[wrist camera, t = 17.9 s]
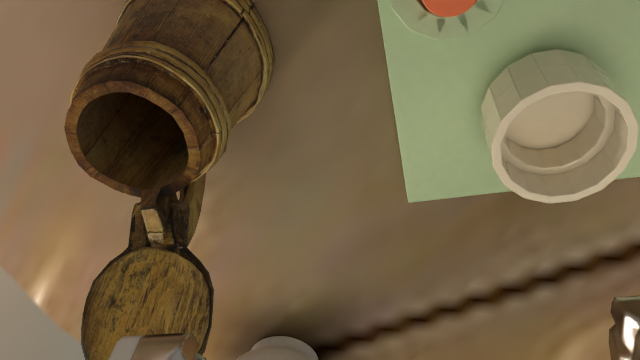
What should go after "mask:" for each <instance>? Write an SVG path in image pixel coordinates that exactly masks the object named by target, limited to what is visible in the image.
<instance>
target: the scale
mask: <svg viewBox="0 0 640 360" xmlns="http://www.w3.org/2000/svg"><path fill="white" fill-rule="evenodd" d="M377 1H378V8H379V14H380V21H381V27H382V34H383V40H384V47H385V53H386V60H387V66H388V73H389V79H390V86H391V93H392V99H393V106H394V112H395V119H396V125H397V132H398V138H399V145H400V151H401V158H402V164H403V171H404V178H405V184H406V191H407V197H408V202H409V203H410V202H419V201H428V200H437V199H445V198H454V197H463V196H472V195H481V194H490V193H499V192H508V191H512V190H511V189H509V188H508V187H506V186H505V185H504V184H503V182H502V181H501V179H500V177H499V176H498V174H497V172H496V171H495V169H494V168H493V165H492V161H491V158H490V154H489V151H488V147H487V143H486V140H485V136H484V133H483V129H482V119H481V106H482V103H483V101H484V98H485V96H486V93H487V90H488V88H489V86H490V84H491V83H492V82H493V81H494V80H495V79H496V78H497V77H498V76H499V75H500V74H501V72H502V71H503V70H504V69H505V68H506V67H508V66H509V65H510V64H512V63H514V62H516V61H518V60H520V59H522V58H524V57H526V56H527V55H529V54H532V53H536V52H543V51H549V50H556V49H559V50H565V51H569V52H574V53H578V54H583V55H584V56H587V57H588V58H589V59H590V60H592V61H593V62H594V63H596V64H597V65H598V66H600V67H601V68H602V69H603V70H604V71H605V73H606V74H607V75H608V77H609V78H610V79H611V81H612V82H613V83H614V84H615V86H616V87H617V88H618V90H619V91H620V92H621V93H622V95H623V96H624V97H625V99H626V100H627V101H628V103H629V104H630V106H631V109H632V111H633V113H634V115H635V118H636V120H637V122H638V126H639V127H638V137H637V148H636V151H635V153H634V154H633V156H632V158H631V159H630V161H629V163H628V165H627V166H626V168H625V170H624V171H623V172H622V173H621V174H620V175H619V176H618V177H617V178H615V179H623V178H632V177H640V0H477V1H476V3H475V4H474V5H473V6H472V7H471V8H470V9H469V10H467V11H466V12H464V13H462V14H460V15H458V16H453V17H443V16H439V15H436V14H434V13H432V12H431V11H430V10H428V9H427V8H426V6H425V5H424V4H423V2H422V0H377Z"/></svg>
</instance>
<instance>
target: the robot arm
mask: <svg viewBox="0 0 640 360" xmlns="http://www.w3.org/2000/svg"><path fill="white" fill-rule="evenodd" d="M611 314H612V317H613V319H614V322H615V325H614V326H613V327H611V328H610V329H609V347H610V355H611V360H640V296H629V297H618V298H614V299H613V301H612V306H611ZM198 345H199V343H198V341H197V340H196V338H195V336H194V334H193V333H172V334H153V335H141V336H124V337H122V338H121V339H120V340H119V341H118V342H117V343H116V345H115V347H114V349H113V351H112V353H111V355H110V358H109V360H206V358H205V357H203V356H202V355H200V354H198V353H197V352H196V351H197V348H198Z"/></svg>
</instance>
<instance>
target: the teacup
mask: <svg viewBox="0 0 640 360" xmlns="http://www.w3.org/2000/svg"><path fill="white" fill-rule="evenodd" d="M236 360H318V357H317V355H316V353H315V351H314V350H313V349H312V348H311V347H310V346H309V345H307V344H306V343H304V342H302V341H300V340H298V339H295V338H292V337H287V336H274V337H268V338H265V339H262V340H260V341H259V342H257V343H256V344H255V345H254V346H253V348H252V350H251V351H248V352H246V353H244V354H243V355H241V356H240V357H238V358H237V359H236Z"/></svg>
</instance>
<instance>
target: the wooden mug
mask: <svg viewBox="0 0 640 360" xmlns="http://www.w3.org/2000/svg"><path fill="white" fill-rule="evenodd" d="M273 66H274V57H273V53H272V48H271V43H270V40H269V36H268V33H267V29H266V27H265V25H264V23H263V22H262V20H261V18H260V16H259V14H258V12H257V10H256V9H255V7H254V6H253V4H252V3H251V1H250V0H127V2H126V4H125V5H124V7H123V9H122V11H121V13H120V16H119V18H118V20H117V24H116V28H115V30H114V31H113V33H112V35H111V37H110V38H109V40H108V42H107V43H106V45H105V47H104V48H103V50H102V51H101V52H99V53H97V54H96V55H95V56H94V57H93V58H92V59H91V60H90V61H89V62H88V63H87V64H86V66H85V67H84V69H83V71H82V73H81V75H80V77H79V79H78V81H77V83H76V85H75V87H74V89H73V91H72V93H71V100H70V107H69V110H68V112H67V116H66V122H65V127H64V128H65V133H66V138H67V141H68V144H69V147H70V150H71V152H72V154H73V156H74V158H75V159H76V161H77V163H78V165H79V166H80V167H81V168H82V169H83V170H84V171H85V172H86V173H87V174H88V175H89V176H90V177H92V178H94V179H96V180H98V181H100V182H102V183H103V184H105V185H107V186H109V187H111V188H113V189H115V190H117V191H120V192H123V193H126V194H129V195H132V196H137V197H141V202H140V203H137V204H135V206H134V209H133V213H132V219H131V228H130V237H129V245H128V248H127V249H126V250H125V251H124V252H123V253H121V254H120V255H119V256H117V257H116V258H114V259H113V260H112V261H110V262H109V263H108V265H107V266H106V267H105V268H104V269H103V270H102V272H101V273H100V274H99V275H98V276H97V277H96V279H95V280H94V281H93V283H92V286H91V288H90V291H89V293H88V296H87V298H86V303H85V307H84V312H83V318H82V326H81V345H82V349H83V353H84V357H85V360H109V358H110V355H111V353H112V351H113V349H114V347H115V345H116V343H117V342H118V341H119V340H120V339H121V338H122V337H124V336H141V335H153V334H172V333H193V334H194V336H195V338H196V340H197V341H198V343H199V345H198V348H197V351H196V352H197V353H198V354H200V355H203V353H204V352H205V348H206V345H207V341H208V337H209V333H210V330H211V324H212V312H213V295H214V289H213V286H212V282H211V279H210V275H209V272H208V271H207V270H206V268H205V267H204V266H203V264H202V263H201V262H200V260H199V259H198V258H197V257H196V256H195V255H194V254H193V253H192V252H191V251H190V250H189V249H188V248H187V246H188V245H189V243H190V241H191V239H192V237H193V235H194V233H195V230H196V227H197V223H198V220H199V216H200V212H201V206H202V200H203V194H204V186H205V177H206V172H207V171H208V170H209V169H210V168H212V167H213V166H214V165H215V164H216V163H217V162H218V160H219V159H220V158H221V156H222V155H223V154H224V152H225V151H226V148H227V144H228V141H229V138H230V135H231V129H232V128H233V126H234V125H235V124H237V123H238V122H240V121H241V120H243V119H244V118H246V117H247V116H249V115H250V114H251V113H252V112H253V110H254V109H255V107H256V106H257V105H258V103H259V102H260V100H261V99H262V97H263V96H264V94H265V92H266V91H267V89H268V86H269V82H270V78H271V74H272V70H273ZM179 190H180V199H179V201H178V198H177V196H176V192H177V191H179Z"/></svg>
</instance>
